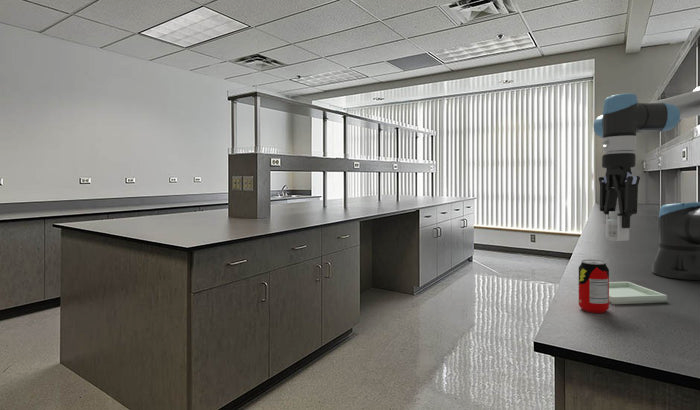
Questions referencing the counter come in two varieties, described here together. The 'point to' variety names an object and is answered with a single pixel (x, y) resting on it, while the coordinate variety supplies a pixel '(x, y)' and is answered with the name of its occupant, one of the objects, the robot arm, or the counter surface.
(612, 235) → the pill bottle
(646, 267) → the counter surface
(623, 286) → the tray
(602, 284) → the beverage can
